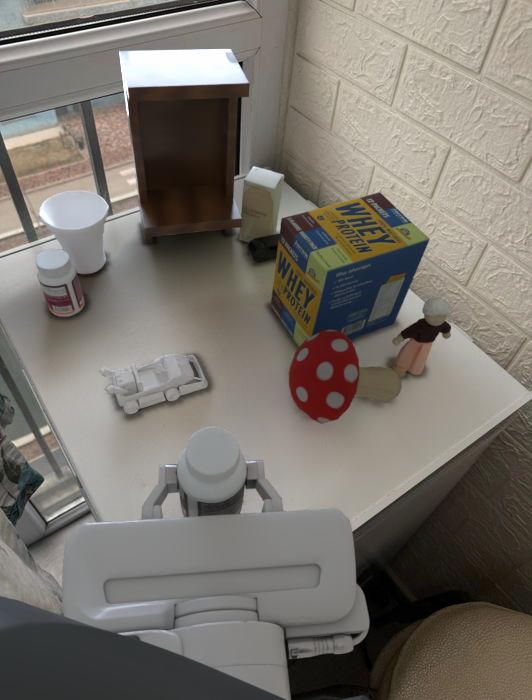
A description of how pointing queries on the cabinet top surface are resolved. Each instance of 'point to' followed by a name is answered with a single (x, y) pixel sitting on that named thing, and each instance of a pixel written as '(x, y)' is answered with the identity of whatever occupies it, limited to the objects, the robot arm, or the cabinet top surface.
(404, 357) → the grandmother figurine
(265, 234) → the box
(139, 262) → the cabinet top surface
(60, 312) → the pill bottle
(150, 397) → the toy car
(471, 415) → the cabinet top surface
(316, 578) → the robot arm
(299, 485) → the cabinet top surface
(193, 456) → the pill bottle
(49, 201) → the cup
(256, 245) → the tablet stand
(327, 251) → the protein box
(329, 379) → the decorative mushroom
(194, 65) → the shelf
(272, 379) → the cabinet top surface
